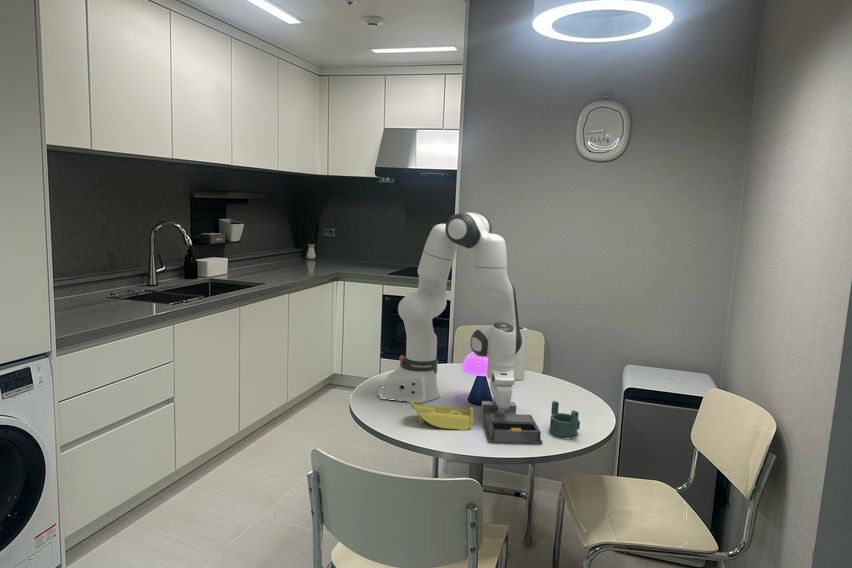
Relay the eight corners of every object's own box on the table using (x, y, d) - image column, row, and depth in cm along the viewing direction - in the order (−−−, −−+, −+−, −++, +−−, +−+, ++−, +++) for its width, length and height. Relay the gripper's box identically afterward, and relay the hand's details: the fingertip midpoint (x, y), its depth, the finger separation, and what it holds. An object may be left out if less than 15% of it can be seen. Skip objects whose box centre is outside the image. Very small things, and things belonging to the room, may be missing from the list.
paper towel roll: (512, 380, 226) (515, 329, 223) (507, 376, 232) (510, 326, 229) (528, 380, 228) (532, 329, 225) (523, 375, 234) (526, 326, 231)
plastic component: (468, 409, 185) (473, 406, 175) (467, 432, 182) (472, 430, 173) (409, 404, 183) (411, 400, 174) (407, 427, 181) (409, 424, 172)
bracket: (575, 441, 168) (578, 412, 167) (545, 435, 172) (547, 407, 170) (580, 431, 176) (582, 404, 175) (551, 425, 180) (553, 399, 179)
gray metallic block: (482, 419, 183) (482, 404, 183) (481, 415, 187) (481, 401, 186) (515, 420, 183) (516, 405, 183) (513, 416, 187) (514, 402, 186)
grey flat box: (488, 442, 164) (489, 428, 163) (482, 424, 178) (483, 411, 177) (542, 444, 164) (543, 430, 164) (532, 426, 178) (533, 413, 178)
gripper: (487, 363, 193) (485, 401, 195) (495, 381, 173) (493, 423, 175) (505, 364, 193) (502, 402, 195) (515, 382, 173) (513, 424, 175)
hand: (498, 412), depth 185 cm, fingers open, 7 cm apart
